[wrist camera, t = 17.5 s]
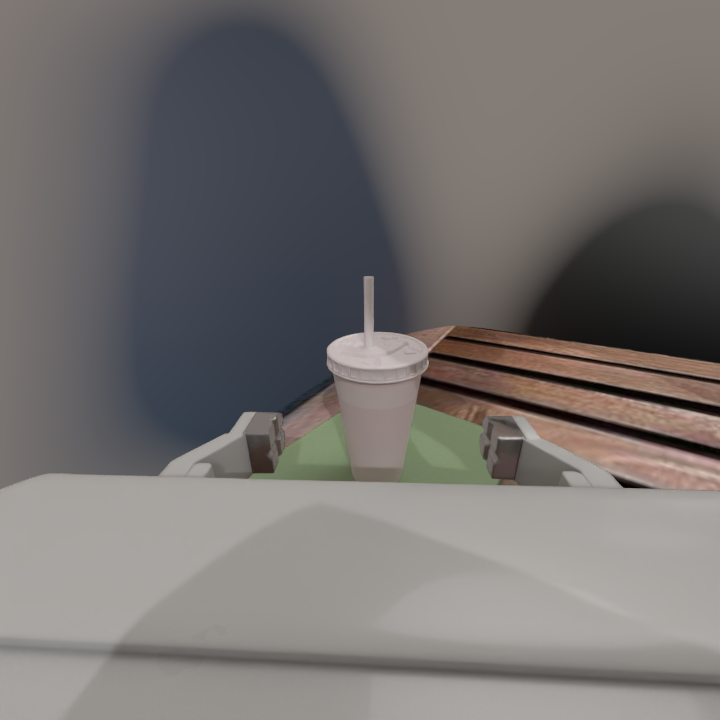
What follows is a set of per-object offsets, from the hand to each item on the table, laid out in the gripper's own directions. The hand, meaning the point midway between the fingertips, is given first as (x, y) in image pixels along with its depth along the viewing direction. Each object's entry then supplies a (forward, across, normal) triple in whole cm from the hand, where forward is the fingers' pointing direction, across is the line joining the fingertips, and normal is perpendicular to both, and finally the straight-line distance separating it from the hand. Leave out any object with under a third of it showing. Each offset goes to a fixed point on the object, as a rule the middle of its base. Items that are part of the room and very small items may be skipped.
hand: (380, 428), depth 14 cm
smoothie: (+8, 0, +9) cm, 12 cm away
